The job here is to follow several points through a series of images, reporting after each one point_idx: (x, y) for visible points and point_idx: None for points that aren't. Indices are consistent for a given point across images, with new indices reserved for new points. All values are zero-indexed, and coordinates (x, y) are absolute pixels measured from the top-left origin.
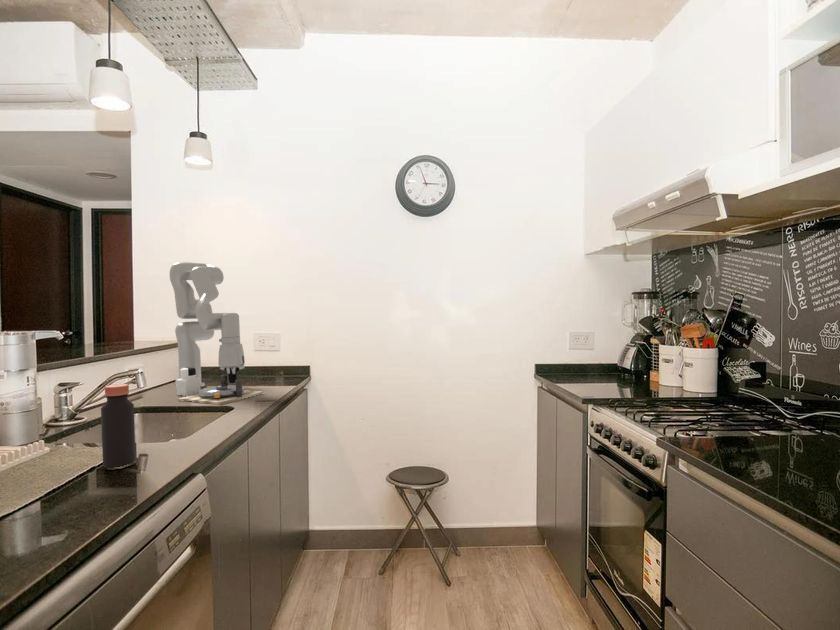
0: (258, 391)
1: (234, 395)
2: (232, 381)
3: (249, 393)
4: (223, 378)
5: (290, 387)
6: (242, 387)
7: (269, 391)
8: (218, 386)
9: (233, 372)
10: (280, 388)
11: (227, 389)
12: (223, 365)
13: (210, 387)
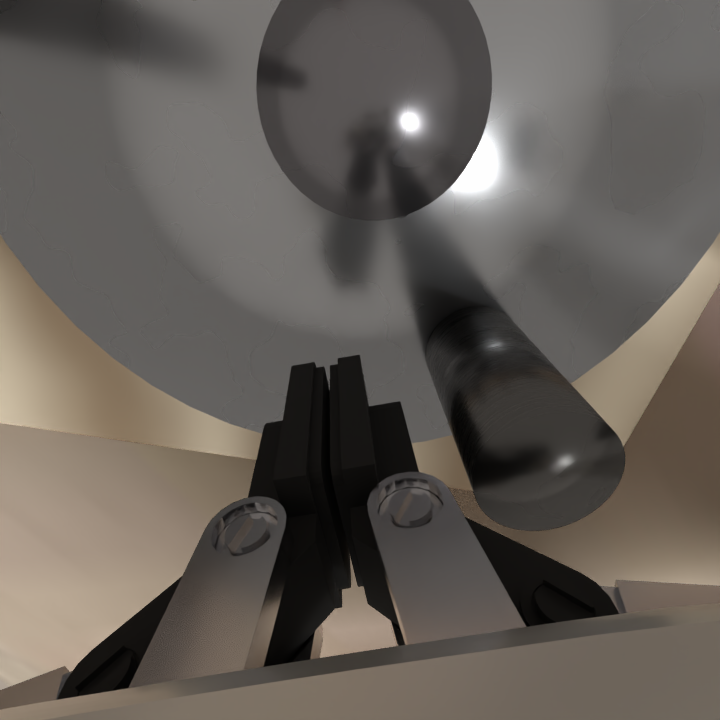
0: (19, 407)
1: None
2: (298, 373)
3: (14, 271)
4: (507, 378)
5: (6, 662)
6: (93, 305)
7: (34, 510)
8: (433, 48)
9: (250, 530)
10: (57, 624)
11: (214, 62)
12: (711, 717)
13: (678, 229)
